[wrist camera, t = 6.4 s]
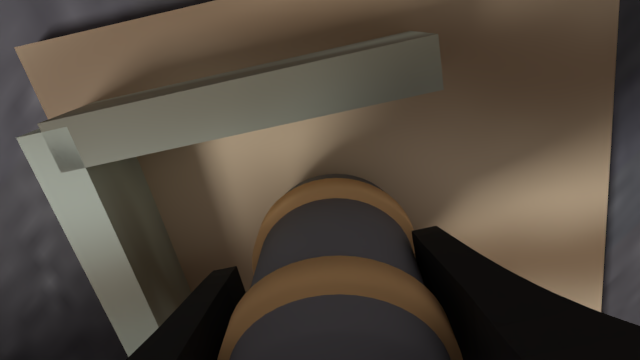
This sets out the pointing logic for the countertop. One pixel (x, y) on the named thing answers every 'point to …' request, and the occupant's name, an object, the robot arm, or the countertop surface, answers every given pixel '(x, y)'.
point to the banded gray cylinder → (337, 282)
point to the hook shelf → (325, 134)
